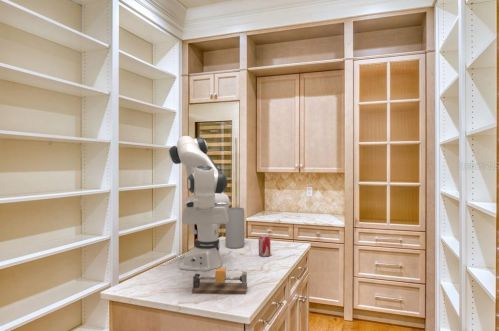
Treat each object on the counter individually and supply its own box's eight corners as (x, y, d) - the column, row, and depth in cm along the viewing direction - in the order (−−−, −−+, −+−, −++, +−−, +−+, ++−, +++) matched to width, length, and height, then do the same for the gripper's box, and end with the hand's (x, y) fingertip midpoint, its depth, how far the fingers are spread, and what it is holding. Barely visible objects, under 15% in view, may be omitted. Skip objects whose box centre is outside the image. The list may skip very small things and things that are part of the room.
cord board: (192, 293, 140) (191, 275, 140) (196, 285, 149) (196, 269, 149) (245, 294, 139) (245, 276, 139) (247, 286, 148) (247, 269, 148)
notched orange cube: (215, 282, 142) (215, 271, 142) (216, 279, 147) (216, 267, 146) (224, 282, 142) (224, 271, 142) (225, 279, 146) (225, 267, 146)
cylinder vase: (221, 246, 217) (221, 209, 217) (233, 243, 227) (233, 206, 227) (236, 249, 209) (235, 210, 209) (248, 245, 219) (247, 208, 219)
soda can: (256, 255, 196) (256, 235, 196) (264, 253, 201) (264, 233, 201) (264, 258, 191) (264, 237, 191) (272, 255, 196) (272, 235, 196)
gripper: (229, 201, 147) (229, 232, 147) (184, 202, 148) (184, 232, 148) (227, 203, 141) (228, 235, 141) (180, 203, 142) (181, 235, 142)
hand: (205, 234), depth 144 cm, fingers open, 8 cm apart
